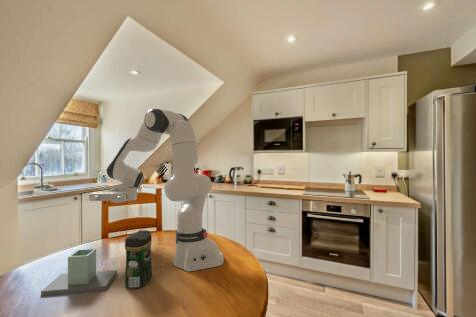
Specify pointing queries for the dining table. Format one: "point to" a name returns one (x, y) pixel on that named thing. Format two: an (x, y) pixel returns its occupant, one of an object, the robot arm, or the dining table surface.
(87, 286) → the stub board
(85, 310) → the dining table surface
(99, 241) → the dining table surface
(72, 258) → the mint green pencil cup
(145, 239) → the coffee jar
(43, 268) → the dining table surface
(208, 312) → the dining table surface
